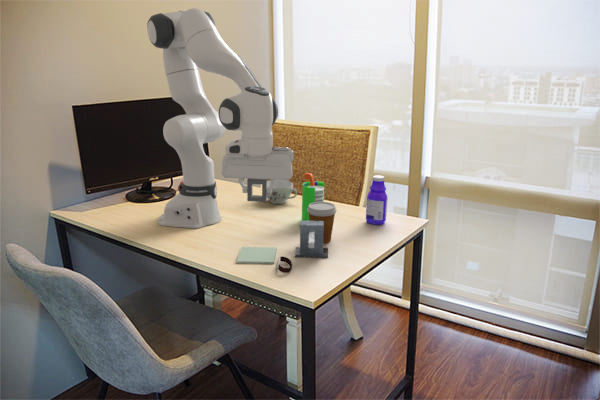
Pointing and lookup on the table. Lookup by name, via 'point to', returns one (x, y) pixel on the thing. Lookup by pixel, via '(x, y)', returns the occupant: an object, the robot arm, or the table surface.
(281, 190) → the teacup
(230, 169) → the robot arm
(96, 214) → the table surface
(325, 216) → the disposable coffee cup
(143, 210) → the table surface
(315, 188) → the green-shelled ribbed roller
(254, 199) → the link
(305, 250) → the hook stand
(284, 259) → the watch
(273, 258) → the mat
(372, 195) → the bottle
